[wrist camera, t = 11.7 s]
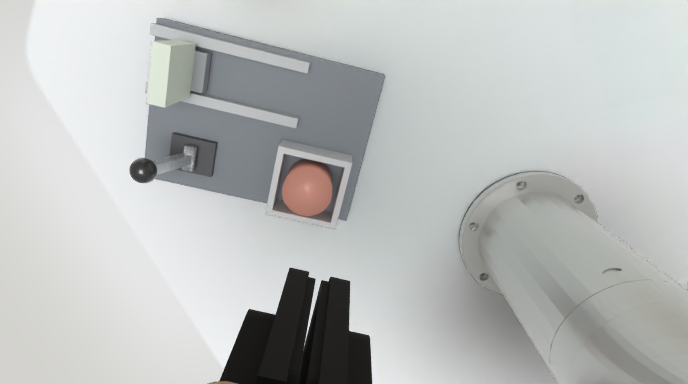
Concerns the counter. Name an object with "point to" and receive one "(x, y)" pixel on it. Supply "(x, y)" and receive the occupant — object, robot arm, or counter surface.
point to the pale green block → (176, 71)
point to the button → (308, 187)
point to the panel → (266, 121)
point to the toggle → (163, 164)
